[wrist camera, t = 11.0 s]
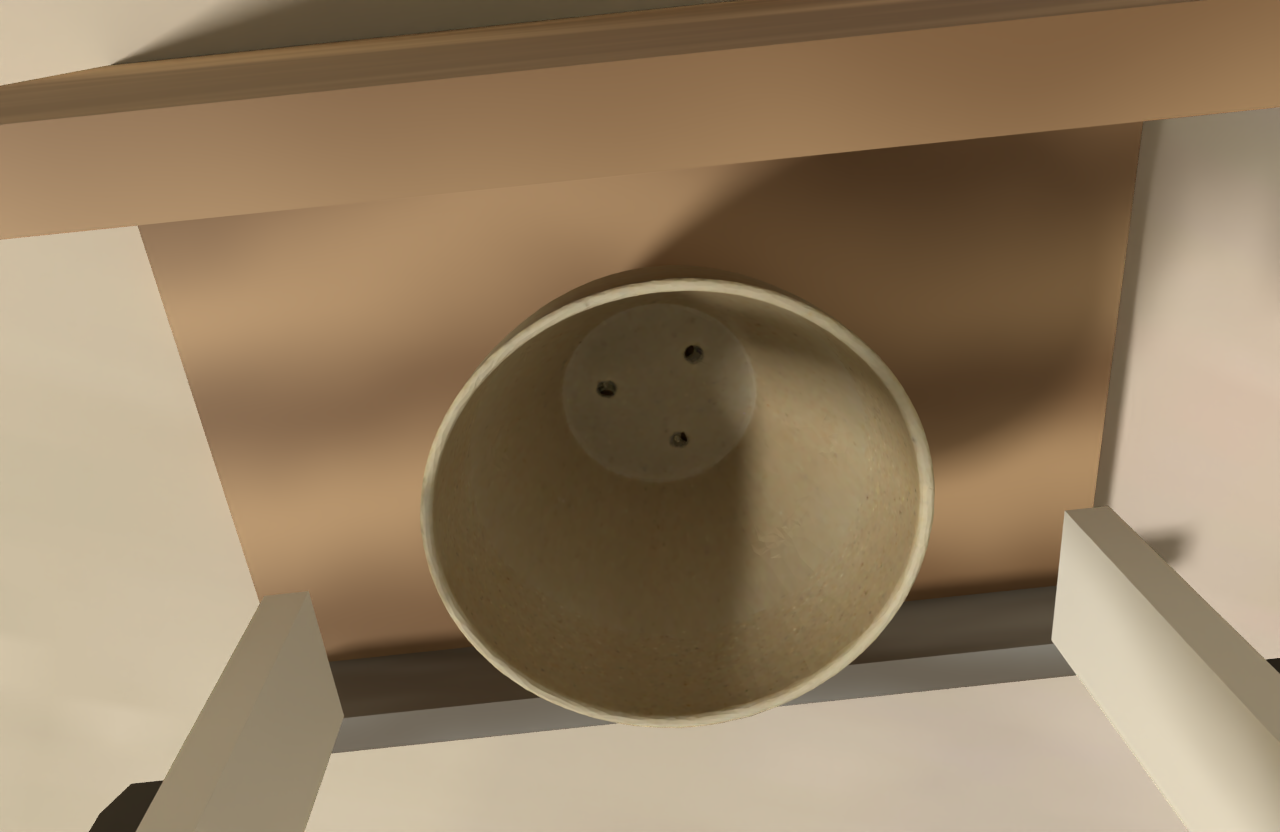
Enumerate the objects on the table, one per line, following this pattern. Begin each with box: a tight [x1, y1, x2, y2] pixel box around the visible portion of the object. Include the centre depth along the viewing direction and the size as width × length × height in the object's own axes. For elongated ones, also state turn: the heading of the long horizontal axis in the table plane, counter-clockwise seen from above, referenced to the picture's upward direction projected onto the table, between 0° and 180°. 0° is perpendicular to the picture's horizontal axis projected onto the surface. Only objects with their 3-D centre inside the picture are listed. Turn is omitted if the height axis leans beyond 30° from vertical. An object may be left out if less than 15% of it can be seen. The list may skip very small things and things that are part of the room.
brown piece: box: [0, 0, 1280, 753], centre depth 20 cm, size 18×24×13 cm
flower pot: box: [420, 265, 935, 728], centre depth 22 cm, size 10×10×7 cm
